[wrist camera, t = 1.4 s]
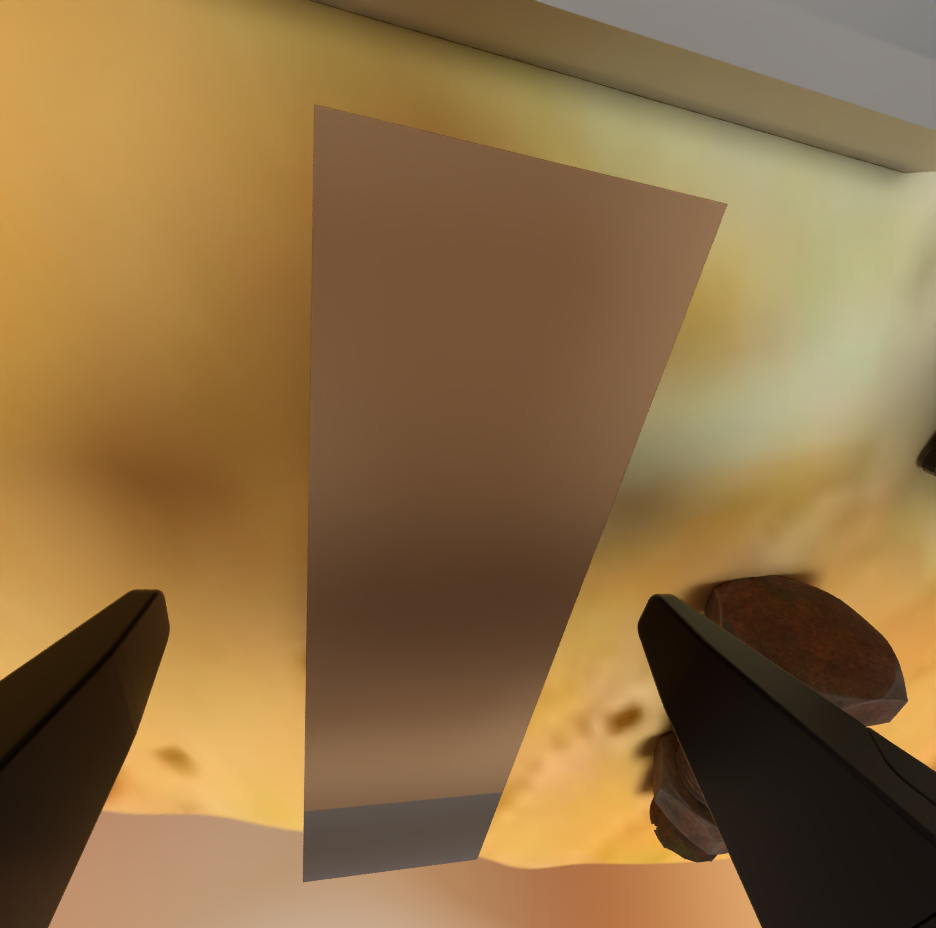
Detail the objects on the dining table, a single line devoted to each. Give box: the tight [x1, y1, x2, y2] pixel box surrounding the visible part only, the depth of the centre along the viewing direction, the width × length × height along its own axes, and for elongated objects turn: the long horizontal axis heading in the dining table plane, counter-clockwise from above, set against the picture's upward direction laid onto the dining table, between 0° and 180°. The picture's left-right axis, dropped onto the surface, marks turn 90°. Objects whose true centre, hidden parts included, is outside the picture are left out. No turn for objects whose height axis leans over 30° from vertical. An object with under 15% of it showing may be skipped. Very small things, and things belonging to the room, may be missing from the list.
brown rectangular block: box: [303, 104, 727, 882], centre depth 10 cm, size 14×4×6 cm, turn 170°
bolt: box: [650, 575, 908, 862], centre depth 19 cm, size 6×5×15 cm
